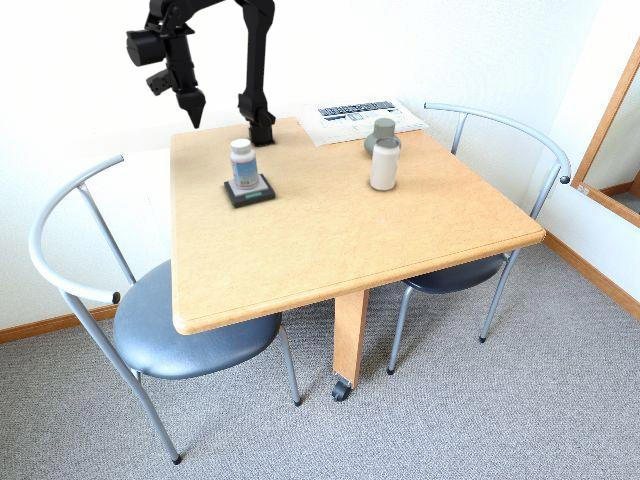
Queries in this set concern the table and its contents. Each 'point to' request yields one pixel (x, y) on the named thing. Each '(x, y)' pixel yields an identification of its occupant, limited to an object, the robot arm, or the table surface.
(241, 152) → the pill bottle
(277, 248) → the table surface
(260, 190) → the scale
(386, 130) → the air freshener
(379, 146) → the can
